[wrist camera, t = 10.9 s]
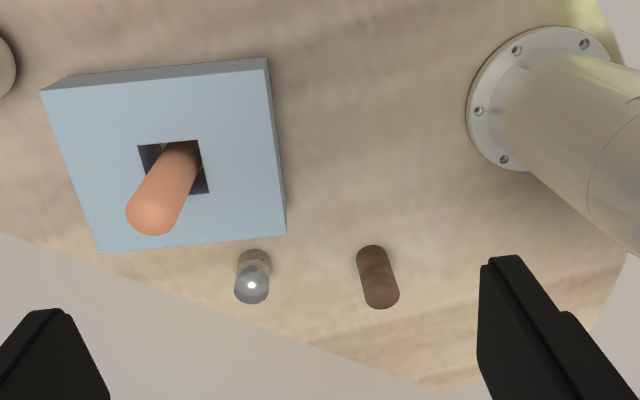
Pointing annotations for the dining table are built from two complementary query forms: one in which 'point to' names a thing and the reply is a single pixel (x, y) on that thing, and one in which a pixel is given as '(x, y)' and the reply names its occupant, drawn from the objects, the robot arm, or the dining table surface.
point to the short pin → (252, 277)
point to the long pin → (164, 189)
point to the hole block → (171, 126)
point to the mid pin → (377, 277)
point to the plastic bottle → (6, 68)
